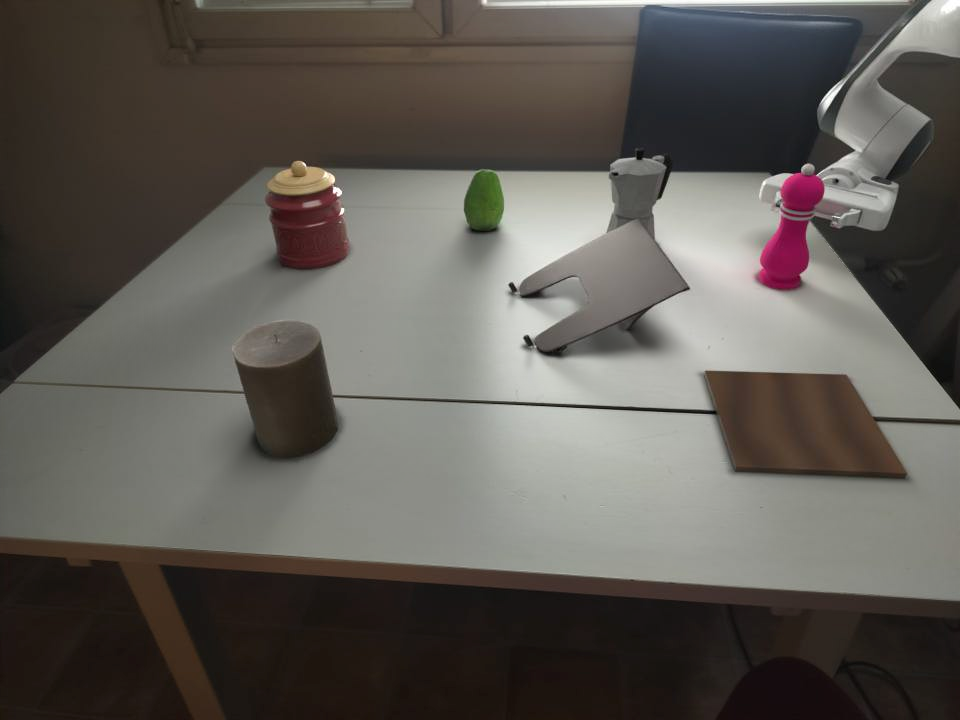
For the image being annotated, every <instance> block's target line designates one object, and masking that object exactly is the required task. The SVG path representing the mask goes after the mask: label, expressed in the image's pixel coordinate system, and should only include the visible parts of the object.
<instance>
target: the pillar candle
mask: <svg viewBox="0 0 960 720" xmlns="http://www.w3.org/2000/svg"><path fill="white" fill-rule="evenodd" d="M230 349H231V350H230V351H231V353H232V356H233V359H234V363H235V365H236V368H237V373H238V375H239V380H240V384H241V386H242V390H243V394H244V398H245V402H246V404H247V407H248V411H249V414H250V418H251V421H252V424H253V428H254V432H255V434H256V438H257V442H258V444H259V446H260V448H261V449H262V450H264V452H265V453H267V454H268V455H269V456H271V457H275V458H279V459H280V458H281V459H292V458H299V457H303V456H306V455H309V454H313V453H314V452H317V451H319V450H321V449H322V448H323V447H325V446H326V445H327V444H329V443H330V442H332V441H333V439H334V438H335V436H336V434H337V432H338V431H339V426H340V425H339V420H338V415H337V409H336V405H335V400H334V399H335V398H334V395H333V390H332V384H331V381H330V376H329V370H328V366H327V361H326V356H325V350H324V345H323V341H322V336H321V333H320V331H319V329H318V328H317V327H315V326H314V325H313V324H311V323H309V322H307V321H303V320H298V319H287V318H286V319H281V320H279V319H278V320H271V321H269V322H266V323H264V324H260V325H257V326H255V327H253V328H250V329H249V330H247V331H246V332H244V334H241V335H240V336H239V337H238V338H237V339H236V340H235V342H234V344H233V346H231V348H230Z"/></svg>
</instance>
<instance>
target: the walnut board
mask: <svg viewBox="0 0 960 720" xmlns="http://www.w3.org/2000/svg"><path fill="white" fill-rule="evenodd" d="M703 377H704V379H705V382H706V383H705V384H706V387H707V389H708V392H709V395H710V398H711V402H712V404H713V408H714V412H715V414H716V417H717V420H718V423H719V426H720V429H721V433H722V436H723V439H724V442H725V445H726V448H727V452H728V454H729V458H730V461H731V464H732V467H733V470H734V472H737V473H738V472H740V473H761V474H762V473H763V474H764V473H765V474H785V475H786V474H787V475H789V474H790V475H807V476H809V475H812V476H832V477H834V476H835V477H860V478H883V479H906V477H907V475H908V472H907V471H906V469H905V468H904V466H903V464H902V462H901V460H900V459H899V457H898V456H897V454H896V453H895V451H894V449H893V448H892V446H891V444H890V443H889V441H888V439H887V438H886V436H885V434H884V433H883V431H882V429H881V428H880V426H879V425H878V424H877V422H876V420H875V419H874V417H873V415H872V413H871V412H870V410H869V409H868V407H867V405H866V404H865V402H864V400H863V399H862V398H861V395H860V394H859V392H858V391H857V389H856V387H855V386H854V384H853V382H852V381H851V379H850V378H849V376H848V374H844V373H843V374H838V373H808V372H807V373H805V372H804V373H802V372H776V371H775V372H771V371H770V372H769V371H740V370H739V371H737V370H704V373H703Z"/></svg>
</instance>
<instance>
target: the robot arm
mask: <svg viewBox="0 0 960 720" xmlns="http://www.w3.org/2000/svg"><path fill="white" fill-rule="evenodd" d="M911 52H920V53H929V54H937V55H942V56H945V57H950V58H957V59H960V0H918V1H917V2H915V3H914V4H913V5H911V7H909V8H908V9H907V10H906V11H905V12H904V13H903V14H902V15H901V16H900V17H899V18H898V19H897V20H896V21H895V22H894V23H893V24H892V25H891V26H890V27H889V29H888V30H887V31H886V32H885V33H884V34H883V35H882V36H881V37H880V38H879V39H878V40H877V42H876V43H875V44H874V45H873V46H872V47H871V48H870V49H869V50H868V51H867V53H865V55H864V56H862V58H861V59H860V60H859V62H857V63H856V65H854V67H853V68H852V69H851V70H850V71H849V72H848V74H846V75H845V77H843V78H842V79H841V80H840V81H839V82H837V83H836V84H835V85H834V86H833V87H832V88H831V89H830V90H829V91H828V92H827V93H826V94H825V95H824V97H823V98H822V99H821V101H820V103H819V105H818V107H817V109H816V115H817V116H816V117H817V123H818V126H819V130H820V131H822V132H824V133H826V134H827V135H829V136H831V137H833V138H834V139H838V140H840V141H842V143H844V144H846V145H847V146H849V147H850V148H851V149H853V150H854V151H853V152H850V153H848V154H846V155H844V156H843V157H841V158H840V159H838V160H837V161H836V162H834V163H832V164H830V165H829V166H827V167H826V168H824V169H823V170H821V171H820V172H818V174H815V175H816V176H818V177H819V178H820V179H821V180H822V181H823V184H824V188H825V191H824V196H823V198H822V200H821V201H820V202H819V203H818V204H817V205H815V207H816V211H815V212H814V217H818V218H822V219H826V220H830V221H831V222H830V225H829V226H830V227H833V228H835V229H841V228H843V227H849V226H850V227H851V226H854V227H857V228H861V229H865V230H869V231H872V232H882V231H883V230H885V229H886V227H887V226H888V224H889V221H890V218H891V216H892V214H893V212H894V208H895V204H896V202H897V196H898V193H899V187H900V184H899V183H898V182H896V181H899V180H900V179H901V178H903V177H904V176H905V175H907V173H909V171H911V170H912V169H913V167H915V166H916V165H917V164H918V162H920V160H921V159H922V158H923V157H924V156H925V154H926V153H927V152H928V150H929V149H930V147H931V145H932V143H933V142H934V134H935V133H934V132H935V124H934V120H933V119H932V118H931V117H929V116H927V115H926V114H924V113H923V112H921V111H920V110H919V109H917V108H915V107H914V106H912V105H911V104H909V103H906V102H905V101H903V100H901V99H900V98H899V97H896V96H895V95H894V94H893V93H891V92H889V91H887V90H886V89H884V88H883V87H882V85H880V83H879V81H878V79H879V78H880V77H881V76H882V75H883V74H884V73H885V71H886V70H888V69H889V68H890V67H891V65H892V64H894V62H895V61H897V59H898V58H899V57H900V56H901V55H903V54H904V53H911ZM794 174H795V173H788V172H786V173H785V172H783V173H779V174H776V175H775V174H774V175H773V176H770V177H768V178H766V179H764V180H763V181H762V183H761V186H760V190H759V195H758V198H759V201H760V202H761V203H764V204H767V205H771V211H772V212H775V213H779V210H780V208H781V203H783V202H784V201H783V199H782V198H781V194H780V192H781V188H782V185H783V183H784V182H785V180H786V179H787V178H788V177H790V176H791V175H794Z"/></svg>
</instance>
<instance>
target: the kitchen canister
mask: <svg viewBox="0 0 960 720" xmlns="http://www.w3.org/2000/svg"><path fill="white" fill-rule="evenodd" d="M335 182H336V178H335V176H334V175H333V174H332V173H330V172H328V171H325V170H324V169H322V168H320V167H317V166H316V167H315V166H307V165H306V164H305V162H303V161H301V160H295V161H293V162H292V163H291V166H290V168H287V169H283V170H281V171H279V172H278V173H277V174H275V176H274V177H272V178H271V179H270V180H269V181H268V182H267V185H266V187H267V189H268V190H269V192H268V193H267V194H266V196H265V198H264V202H265V204H266V205H267V206H268V207H269V209H270V214H269V217H268V219H269V222H270V224H271V228H272V232H273V238H274V242H275V245H276V247H275V252H276V255H277V258H278V260H279V263H280V264H281V266H282V267H284V268H285V267H287V268H291V269H294V270H295V269H296V270H317V269H322V268H327V267H331V266H333V265H337V263H339V262H342V261H343V260H344V259H346V257H348V255H349V253H350V248H351V244H350V238H349V237H348V233H347V232H348V231H347V226H346V218H345V207H344V206H343V204H342V203H341V199H340V198H341V197H342V194H343V191H342V188H341V187H340V186H339V185H337V184H335Z"/></svg>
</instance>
